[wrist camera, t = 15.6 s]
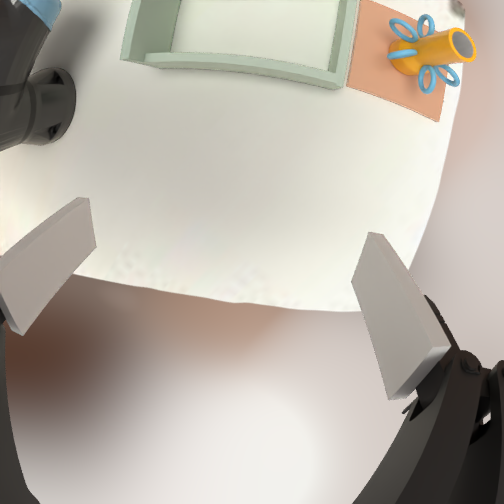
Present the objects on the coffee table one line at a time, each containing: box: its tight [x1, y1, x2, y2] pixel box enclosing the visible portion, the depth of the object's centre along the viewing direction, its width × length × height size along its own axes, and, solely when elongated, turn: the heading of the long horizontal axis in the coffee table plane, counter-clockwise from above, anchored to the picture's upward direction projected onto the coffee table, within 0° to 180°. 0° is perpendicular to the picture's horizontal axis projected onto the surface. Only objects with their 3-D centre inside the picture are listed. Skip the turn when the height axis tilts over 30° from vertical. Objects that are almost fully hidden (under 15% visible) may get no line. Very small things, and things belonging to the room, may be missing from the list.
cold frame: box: [120, 0, 357, 90], centre depth 22 cm, size 25×18×12 cm
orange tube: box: [387, 14, 476, 94], centre depth 20 cm, size 12×10×15 cm
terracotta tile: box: [346, 0, 448, 122], centre depth 27 cm, size 16×16×1 cm
